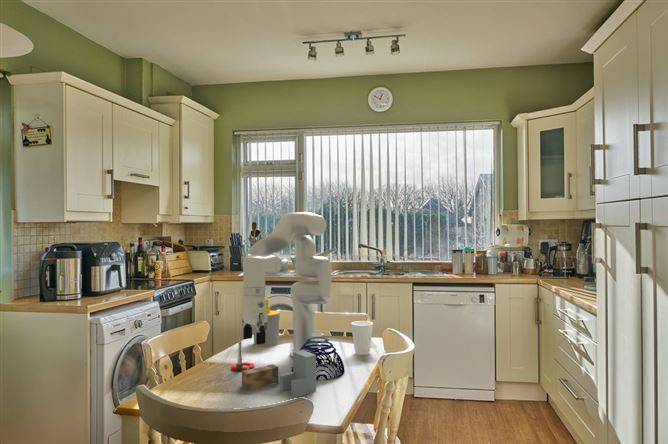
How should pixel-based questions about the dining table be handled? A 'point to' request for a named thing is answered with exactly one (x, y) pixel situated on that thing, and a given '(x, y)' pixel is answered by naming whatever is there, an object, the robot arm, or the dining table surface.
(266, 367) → the brown wooden block
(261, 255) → the robot arm
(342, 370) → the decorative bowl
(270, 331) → the soap bottle
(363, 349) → the foam cup
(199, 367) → the dining table surface
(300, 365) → the grey stepped block
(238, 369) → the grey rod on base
